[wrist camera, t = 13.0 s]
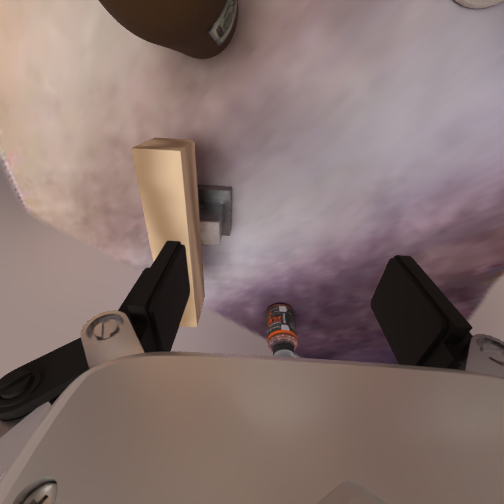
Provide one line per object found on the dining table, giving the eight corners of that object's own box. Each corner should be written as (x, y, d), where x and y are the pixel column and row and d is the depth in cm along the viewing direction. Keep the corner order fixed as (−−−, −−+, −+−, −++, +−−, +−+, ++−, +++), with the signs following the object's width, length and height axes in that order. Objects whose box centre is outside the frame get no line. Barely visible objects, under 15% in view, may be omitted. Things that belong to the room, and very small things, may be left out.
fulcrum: (231, 186, 41) (226, 208, 33) (230, 230, 45) (226, 258, 37) (157, 182, 40) (134, 203, 33) (163, 227, 45) (145, 254, 37)
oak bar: (194, 139, 28) (180, 150, 23) (204, 296, 41) (197, 327, 36) (154, 137, 28) (131, 148, 23) (177, 294, 41) (165, 325, 36)
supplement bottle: (276, 298, 54) (281, 342, 44) (297, 309, 55) (307, 353, 46) (260, 314, 56) (262, 359, 47) (281, 324, 58) (287, 369, 49)
